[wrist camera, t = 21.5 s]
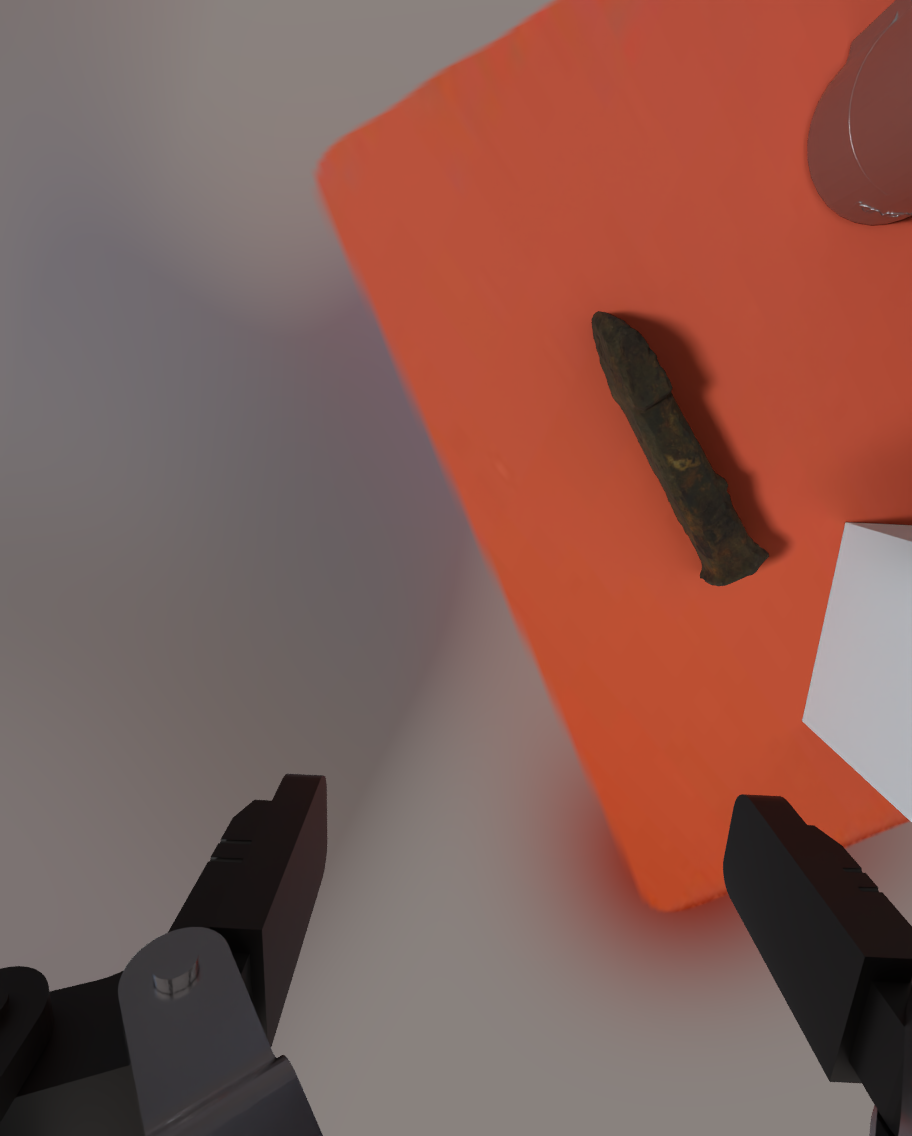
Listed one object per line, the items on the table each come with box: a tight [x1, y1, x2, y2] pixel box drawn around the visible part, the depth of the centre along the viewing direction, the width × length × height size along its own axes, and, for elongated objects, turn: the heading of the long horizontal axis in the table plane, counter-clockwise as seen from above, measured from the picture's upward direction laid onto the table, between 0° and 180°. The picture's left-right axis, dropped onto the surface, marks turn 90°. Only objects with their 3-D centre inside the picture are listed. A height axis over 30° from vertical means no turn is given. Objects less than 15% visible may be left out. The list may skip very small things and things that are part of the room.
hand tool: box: [591, 311, 769, 586], centre depth 37 cm, size 19×4×5 cm, turn 30°
